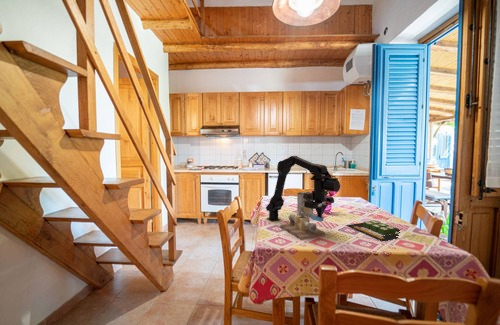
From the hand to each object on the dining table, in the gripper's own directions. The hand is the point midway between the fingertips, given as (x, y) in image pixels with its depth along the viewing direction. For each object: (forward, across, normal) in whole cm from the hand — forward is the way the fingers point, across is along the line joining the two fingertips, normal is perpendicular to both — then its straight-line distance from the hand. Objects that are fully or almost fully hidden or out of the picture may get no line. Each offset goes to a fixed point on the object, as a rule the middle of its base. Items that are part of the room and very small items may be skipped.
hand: (319, 218), depth 121 cm
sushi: (+12, -35, +15) cm, 40 cm away
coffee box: (+11, -22, -28) cm, 37 cm away
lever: (0, +2, -4) cm, 5 cm away
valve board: (+10, +2, -10) cm, 14 cm away
